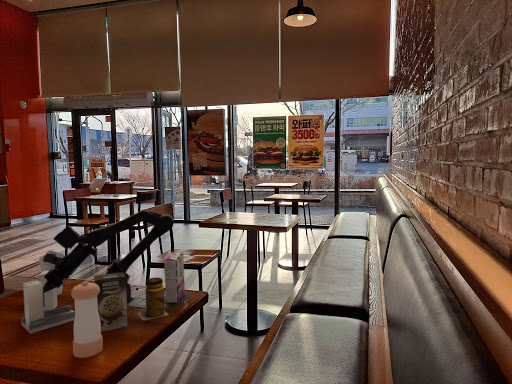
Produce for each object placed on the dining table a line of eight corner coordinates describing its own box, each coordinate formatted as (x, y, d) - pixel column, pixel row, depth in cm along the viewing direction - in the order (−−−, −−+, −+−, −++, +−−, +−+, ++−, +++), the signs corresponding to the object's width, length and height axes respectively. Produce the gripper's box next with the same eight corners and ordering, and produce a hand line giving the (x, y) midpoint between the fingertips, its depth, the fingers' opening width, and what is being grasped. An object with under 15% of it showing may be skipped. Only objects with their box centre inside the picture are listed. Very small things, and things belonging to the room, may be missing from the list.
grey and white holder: (70, 311, 124) (68, 272, 123) (80, 318, 118) (78, 277, 117) (21, 325, 113) (19, 282, 112) (30, 333, 107) (27, 288, 106)
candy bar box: (172, 292, 142) (171, 252, 141) (185, 292, 142) (184, 252, 140) (164, 303, 130) (163, 259, 129) (178, 303, 130) (177, 259, 129)
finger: (57, 305, 130) (55, 270, 129) (53, 309, 126) (51, 273, 125) (43, 306, 129) (41, 271, 128) (38, 311, 125) (37, 274, 124)
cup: (47, 290, 146) (45, 253, 145) (69, 289, 147) (67, 252, 146) (36, 298, 137) (34, 258, 137) (60, 297, 138) (58, 257, 137)
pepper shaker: (97, 357, 93) (94, 285, 92) (68, 358, 93) (64, 286, 91) (106, 343, 100) (103, 277, 99) (79, 345, 100) (76, 278, 99)
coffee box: (96, 333, 107) (94, 280, 106) (95, 325, 113) (92, 275, 112) (128, 326, 111) (126, 276, 110) (125, 319, 117) (123, 270, 116)
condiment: (168, 315, 120) (167, 280, 119) (143, 321, 115) (142, 284, 114) (161, 308, 126) (160, 275, 125) (137, 313, 121) (136, 279, 121)
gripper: (66, 238, 136) (35, 268, 134) (49, 248, 118) (13, 284, 116) (89, 257, 138) (59, 287, 136) (76, 270, 120) (41, 305, 118)
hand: (44, 290), depth 127 cm, fingers closed on finger, 4 cm apart
